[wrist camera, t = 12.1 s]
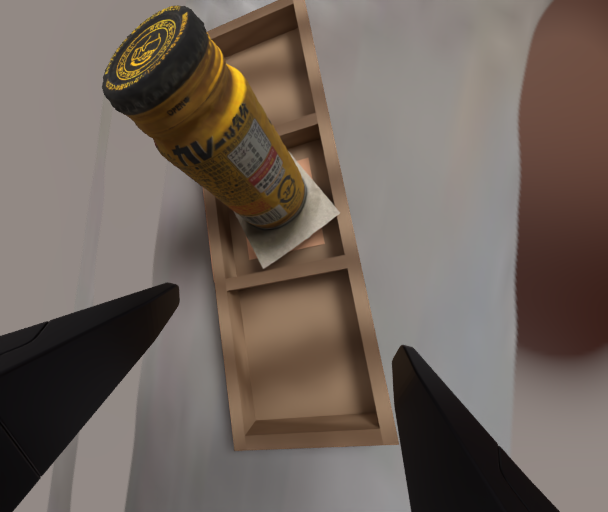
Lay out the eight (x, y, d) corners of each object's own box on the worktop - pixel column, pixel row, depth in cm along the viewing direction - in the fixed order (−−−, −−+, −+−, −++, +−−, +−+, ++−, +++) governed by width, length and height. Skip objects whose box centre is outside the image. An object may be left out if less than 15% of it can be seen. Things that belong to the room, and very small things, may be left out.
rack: (392, 418, 18) (399, 444, 15) (249, 426, 20) (232, 450, 18) (309, 25, 23) (302, -11, 20) (203, 68, 26) (184, 41, 23)
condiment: (289, 152, 21) (182, -31, 11) (340, 214, 17) (255, 25, 7) (229, 201, 22) (73, 77, 11) (265, 270, 18) (84, 181, 8)
